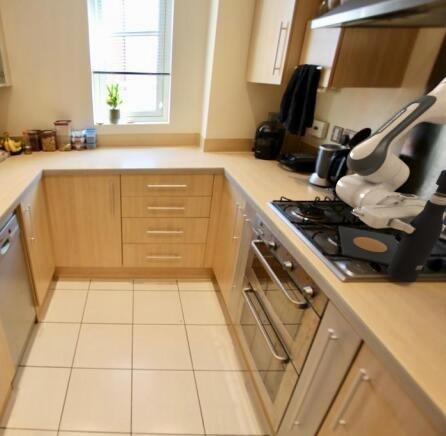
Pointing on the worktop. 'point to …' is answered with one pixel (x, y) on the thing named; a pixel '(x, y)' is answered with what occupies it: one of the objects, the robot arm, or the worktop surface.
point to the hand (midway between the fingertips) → (428, 229)
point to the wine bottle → (420, 237)
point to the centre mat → (367, 245)
